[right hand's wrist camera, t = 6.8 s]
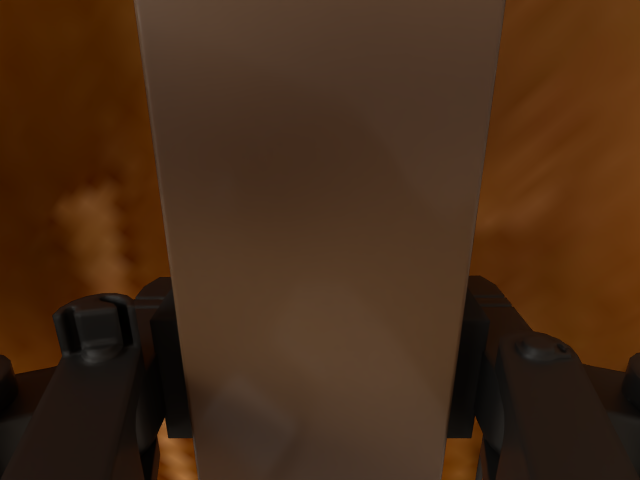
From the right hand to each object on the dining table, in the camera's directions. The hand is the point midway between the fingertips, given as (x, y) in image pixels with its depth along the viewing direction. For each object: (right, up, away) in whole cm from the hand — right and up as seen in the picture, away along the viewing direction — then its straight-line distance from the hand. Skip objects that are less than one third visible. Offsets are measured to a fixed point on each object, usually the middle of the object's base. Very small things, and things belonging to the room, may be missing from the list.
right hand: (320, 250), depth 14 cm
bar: (0, +9, -3) cm, 10 cm away
